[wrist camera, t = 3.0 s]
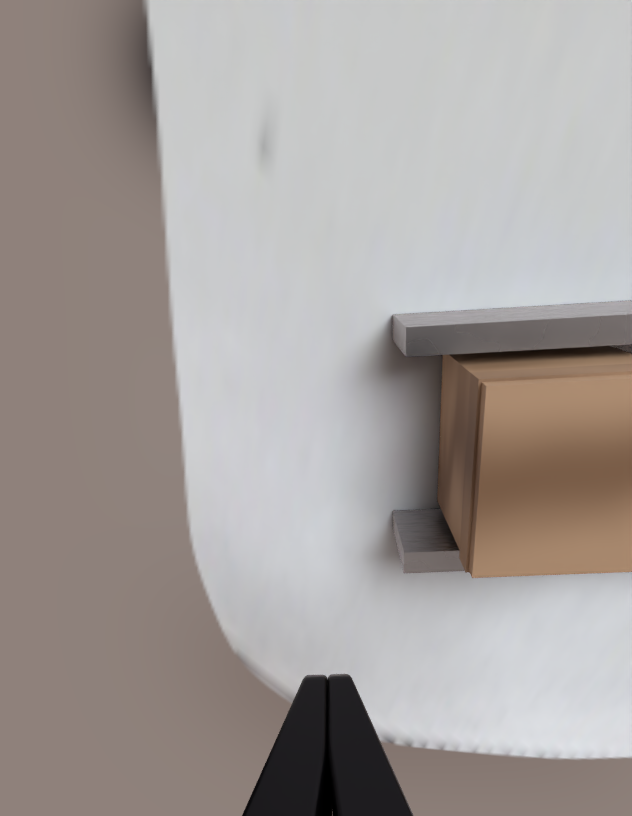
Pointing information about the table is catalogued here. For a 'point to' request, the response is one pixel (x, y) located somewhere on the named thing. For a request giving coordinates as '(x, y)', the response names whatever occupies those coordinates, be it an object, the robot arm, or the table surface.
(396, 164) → the table surface
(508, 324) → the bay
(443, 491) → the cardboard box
